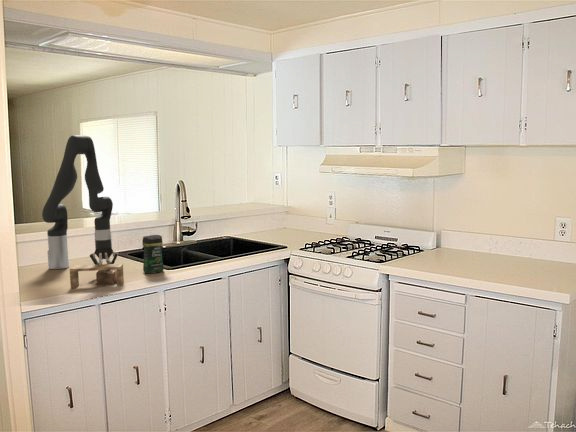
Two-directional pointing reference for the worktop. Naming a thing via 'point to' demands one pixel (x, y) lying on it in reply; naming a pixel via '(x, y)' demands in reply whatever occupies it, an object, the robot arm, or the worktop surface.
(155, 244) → the coffee jar
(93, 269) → the shelf
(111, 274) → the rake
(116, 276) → the reddish brown block
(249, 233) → the worktop surface
